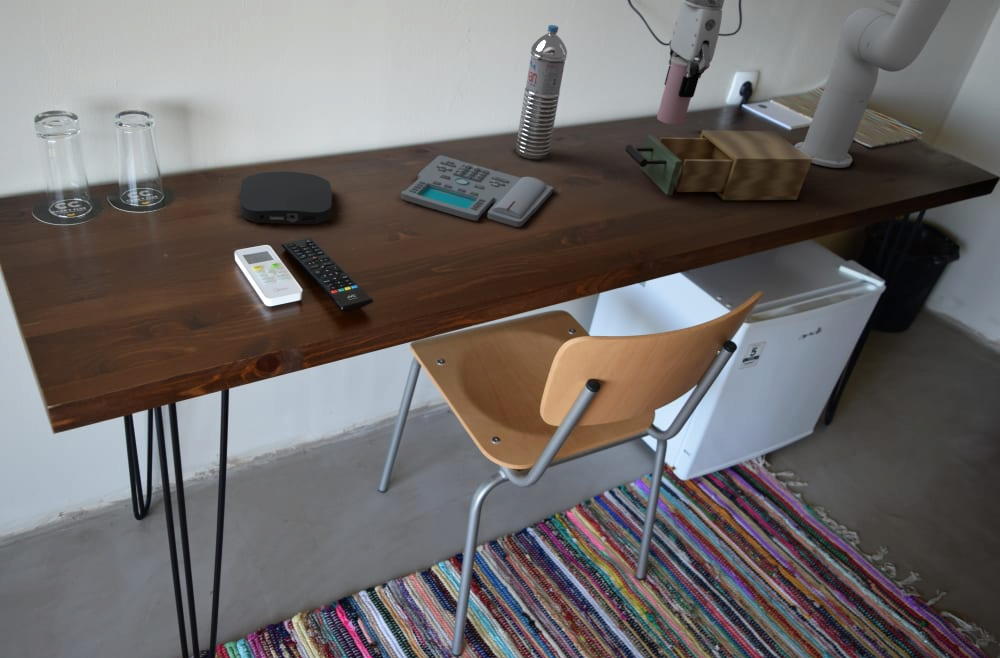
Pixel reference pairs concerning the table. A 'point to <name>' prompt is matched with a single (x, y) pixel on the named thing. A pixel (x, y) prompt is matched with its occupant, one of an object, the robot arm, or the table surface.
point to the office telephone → (477, 192)
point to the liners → (674, 94)
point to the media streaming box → (286, 198)
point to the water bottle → (541, 96)
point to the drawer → (683, 164)
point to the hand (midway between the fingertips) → (678, 90)
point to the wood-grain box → (760, 165)
